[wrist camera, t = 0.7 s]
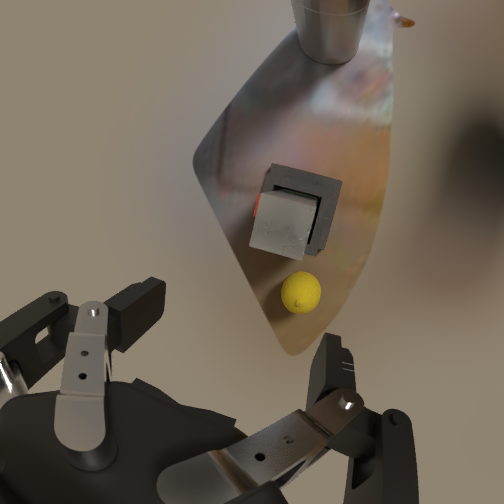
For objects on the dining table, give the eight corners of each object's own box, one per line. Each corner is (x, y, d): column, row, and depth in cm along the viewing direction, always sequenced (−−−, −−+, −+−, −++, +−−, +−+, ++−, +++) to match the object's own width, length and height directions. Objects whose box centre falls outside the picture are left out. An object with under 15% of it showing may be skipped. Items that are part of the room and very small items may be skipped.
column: (287, 188, 37) (260, 191, 19) (317, 195, 36) (318, 206, 19) (280, 217, 38) (247, 247, 20) (309, 225, 38) (302, 262, 20)
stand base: (273, 163, 38) (255, 155, 27) (341, 181, 37) (352, 179, 25) (258, 229, 41) (235, 247, 30) (323, 248, 40) (325, 273, 28)
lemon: (289, 302, 43) (283, 326, 35) (280, 269, 42) (272, 288, 34) (324, 295, 41) (324, 318, 34) (316, 261, 40) (315, 279, 33)
